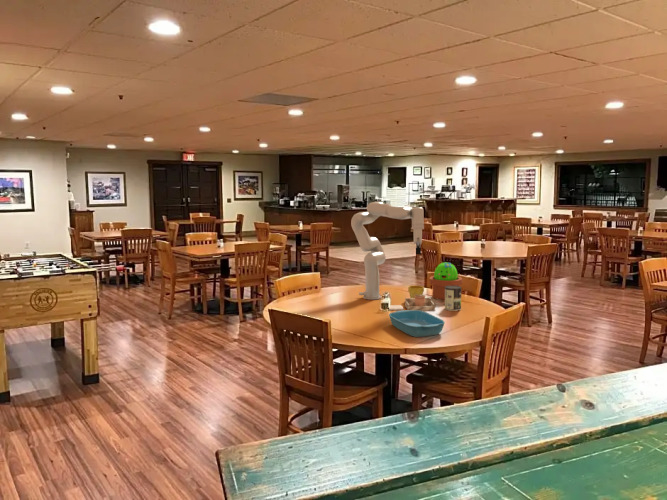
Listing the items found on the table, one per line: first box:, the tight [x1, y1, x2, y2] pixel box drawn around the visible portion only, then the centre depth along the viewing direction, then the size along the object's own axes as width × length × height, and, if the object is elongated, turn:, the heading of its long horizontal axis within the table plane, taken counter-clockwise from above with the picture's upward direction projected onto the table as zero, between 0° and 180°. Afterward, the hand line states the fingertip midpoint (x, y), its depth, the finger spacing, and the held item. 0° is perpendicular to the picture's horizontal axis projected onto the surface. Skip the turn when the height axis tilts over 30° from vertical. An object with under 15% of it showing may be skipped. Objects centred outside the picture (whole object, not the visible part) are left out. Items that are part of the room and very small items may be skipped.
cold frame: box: [404, 297, 436, 311], centre depth 333 cm, size 17×13×5 cm
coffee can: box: [444, 285, 463, 312], centre depth 329 cm, size 10×10×14 cm
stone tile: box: [388, 304, 404, 311], centre depth 333 cm, size 9×9×1 cm
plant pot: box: [407, 285, 425, 298], centre depth 352 cm, size 10×10×10 cm
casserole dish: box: [388, 309, 446, 338], centre depth 286 cm, size 37×22×7 cm, turn 19°
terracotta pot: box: [414, 294, 426, 306], centre depth 333 cm, size 7×7×8 cm
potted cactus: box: [428, 261, 463, 301], centre depth 360 cm, size 22×22×25 cm
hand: (418, 253), depth 338 cm, fingers open, 9 cm apart
